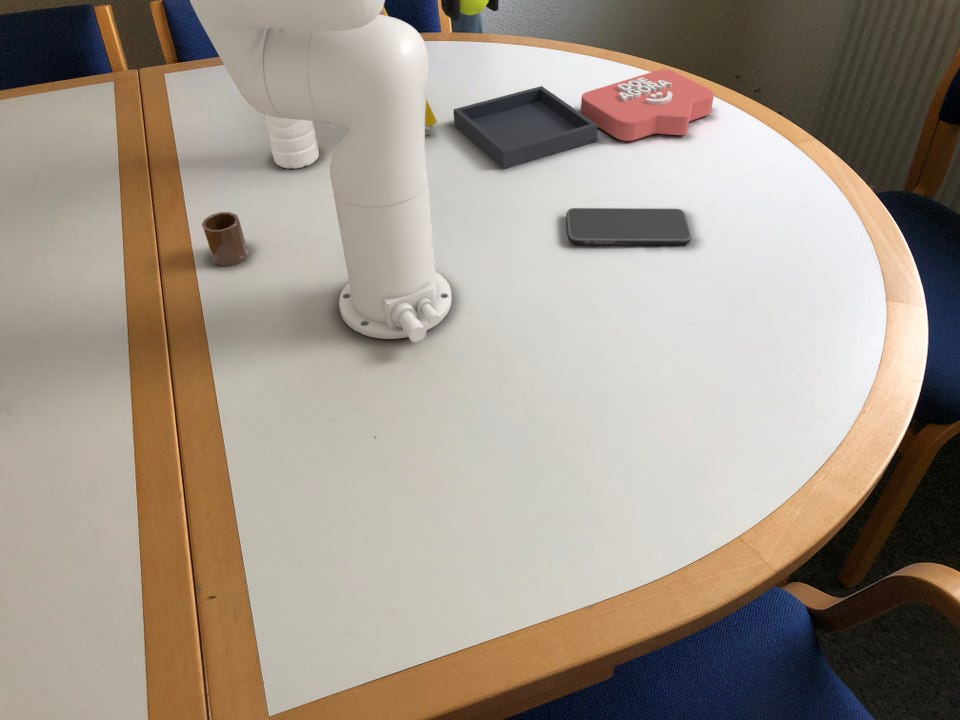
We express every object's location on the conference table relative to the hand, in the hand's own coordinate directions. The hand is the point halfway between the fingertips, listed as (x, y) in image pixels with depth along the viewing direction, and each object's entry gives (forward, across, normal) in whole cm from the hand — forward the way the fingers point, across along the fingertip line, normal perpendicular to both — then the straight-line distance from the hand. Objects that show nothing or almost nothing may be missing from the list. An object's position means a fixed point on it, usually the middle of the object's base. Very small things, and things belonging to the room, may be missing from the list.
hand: (471, 11), depth 101 cm
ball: (-2, 0, 0) cm, 2 cm away
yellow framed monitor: (+20, -5, +15) cm, 26 cm away
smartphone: (+20, +6, -28) cm, 35 cm away
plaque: (+20, +28, -5) cm, 35 cm away
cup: (+19, -38, -7) cm, 44 cm away
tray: (+20, +9, +1) cm, 22 cm away
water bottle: (+20, -24, +13) cm, 34 cm away
